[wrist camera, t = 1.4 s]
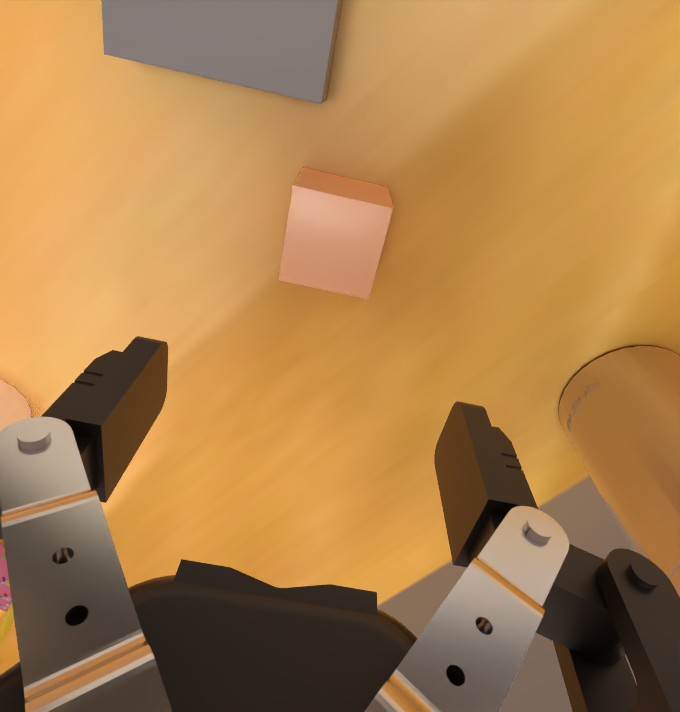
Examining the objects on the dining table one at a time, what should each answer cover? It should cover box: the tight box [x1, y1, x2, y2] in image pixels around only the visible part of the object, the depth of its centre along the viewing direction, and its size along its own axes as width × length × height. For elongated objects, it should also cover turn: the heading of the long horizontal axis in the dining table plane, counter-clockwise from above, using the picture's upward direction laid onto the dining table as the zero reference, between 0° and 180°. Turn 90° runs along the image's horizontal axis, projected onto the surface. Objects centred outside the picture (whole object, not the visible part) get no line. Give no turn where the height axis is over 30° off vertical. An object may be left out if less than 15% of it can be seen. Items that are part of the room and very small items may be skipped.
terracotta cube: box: [278, 167, 393, 300], centre depth 26 cm, size 5×5×5 cm
